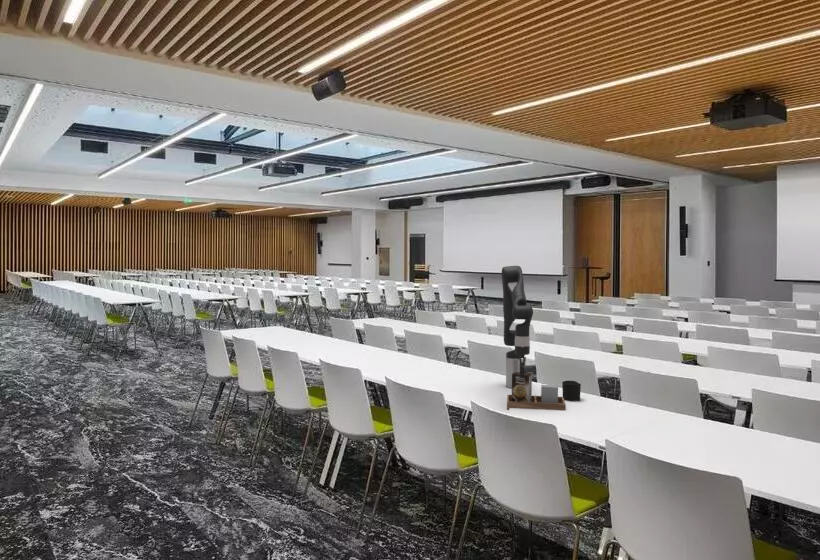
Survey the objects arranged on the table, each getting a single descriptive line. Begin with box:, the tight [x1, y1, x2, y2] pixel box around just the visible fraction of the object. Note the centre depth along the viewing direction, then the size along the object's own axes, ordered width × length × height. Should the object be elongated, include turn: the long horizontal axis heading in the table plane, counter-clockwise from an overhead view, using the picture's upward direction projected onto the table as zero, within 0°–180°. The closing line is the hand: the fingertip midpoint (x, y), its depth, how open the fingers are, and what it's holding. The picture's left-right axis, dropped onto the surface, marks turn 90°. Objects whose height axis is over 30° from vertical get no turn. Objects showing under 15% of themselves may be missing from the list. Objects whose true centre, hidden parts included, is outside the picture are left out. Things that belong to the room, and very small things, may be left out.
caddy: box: [506, 394, 567, 411], centre depth 296 cm, size 15×28×4 cm, turn 80°
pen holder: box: [561, 380, 582, 402], centre depth 307 cm, size 9×9×10 cm
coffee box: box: [511, 372, 533, 402], centre depth 297 cm, size 9×6×16 cm
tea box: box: [540, 384, 559, 404], centre depth 295 cm, size 5×8×10 cm, turn 80°
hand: (522, 376), depth 297 cm, fingers open, 8 cm apart
